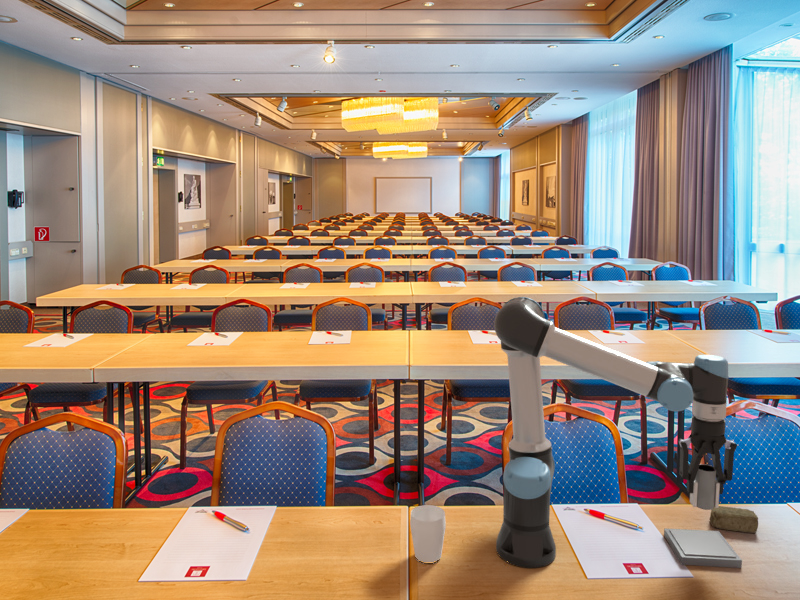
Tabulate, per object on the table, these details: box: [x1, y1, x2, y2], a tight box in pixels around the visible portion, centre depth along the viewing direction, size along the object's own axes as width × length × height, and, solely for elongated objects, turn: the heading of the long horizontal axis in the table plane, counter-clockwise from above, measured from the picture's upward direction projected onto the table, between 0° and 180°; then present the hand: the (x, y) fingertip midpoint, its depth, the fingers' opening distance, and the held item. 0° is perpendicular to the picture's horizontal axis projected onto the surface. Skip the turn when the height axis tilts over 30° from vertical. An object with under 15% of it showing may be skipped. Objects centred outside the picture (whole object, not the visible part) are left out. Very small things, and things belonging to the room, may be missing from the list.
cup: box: [409, 504, 447, 562], centre depth 152 cm, size 9×9×12 cm
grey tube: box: [695, 463, 716, 511], centre depth 152 cm, size 4×4×10 cm
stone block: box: [709, 505, 759, 534], centre depth 166 cm, size 6×12×5 cm, turn 74°
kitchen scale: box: [663, 528, 743, 569], centre depth 154 cm, size 14×14×2 cm
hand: (703, 504), depth 152 cm, fingers closed on grey tube, 4 cm apart
